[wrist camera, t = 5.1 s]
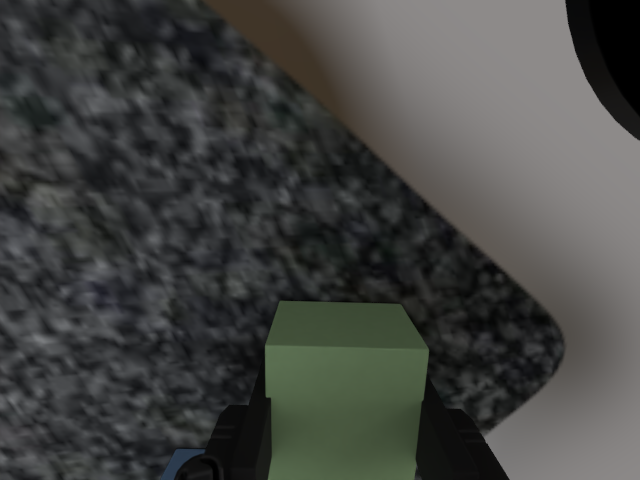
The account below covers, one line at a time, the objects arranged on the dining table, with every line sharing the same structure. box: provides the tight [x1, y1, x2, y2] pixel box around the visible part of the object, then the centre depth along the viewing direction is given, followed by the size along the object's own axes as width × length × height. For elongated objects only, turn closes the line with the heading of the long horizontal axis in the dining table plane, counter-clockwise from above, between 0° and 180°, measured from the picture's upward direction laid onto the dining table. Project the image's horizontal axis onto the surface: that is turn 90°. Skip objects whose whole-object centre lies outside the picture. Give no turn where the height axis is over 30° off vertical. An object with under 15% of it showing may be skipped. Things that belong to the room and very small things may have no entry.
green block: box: [265, 301, 429, 480], centre depth 13 cm, size 6×7×4 cm
